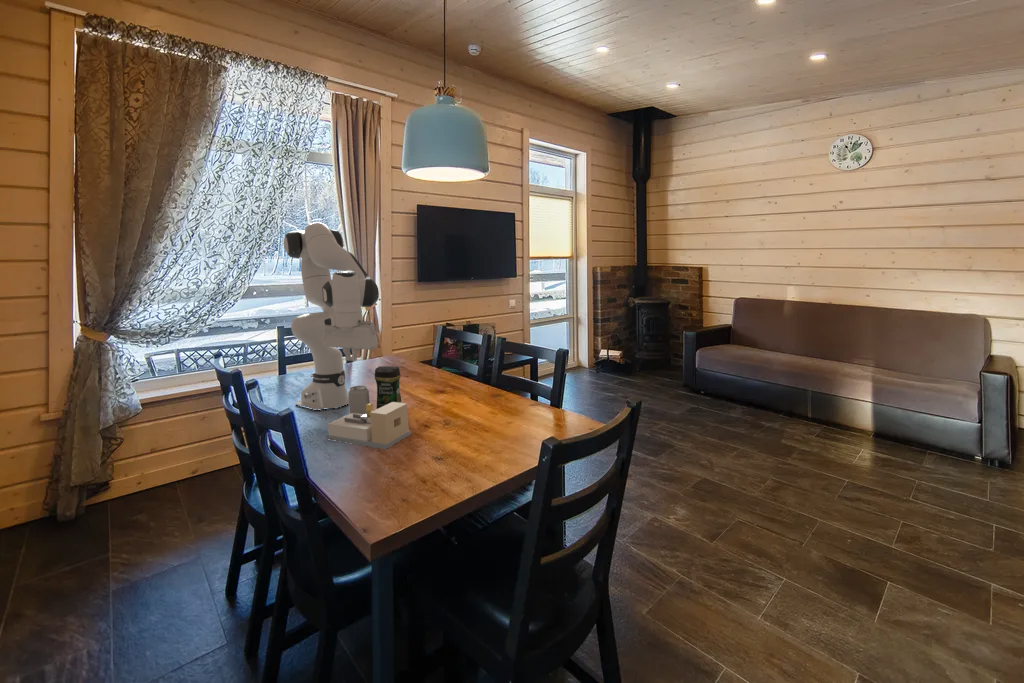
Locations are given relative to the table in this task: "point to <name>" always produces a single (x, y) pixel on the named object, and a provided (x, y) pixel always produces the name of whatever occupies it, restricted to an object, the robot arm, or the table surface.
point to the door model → (373, 427)
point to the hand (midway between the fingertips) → (351, 360)
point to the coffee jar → (387, 385)
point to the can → (358, 399)
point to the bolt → (367, 413)
